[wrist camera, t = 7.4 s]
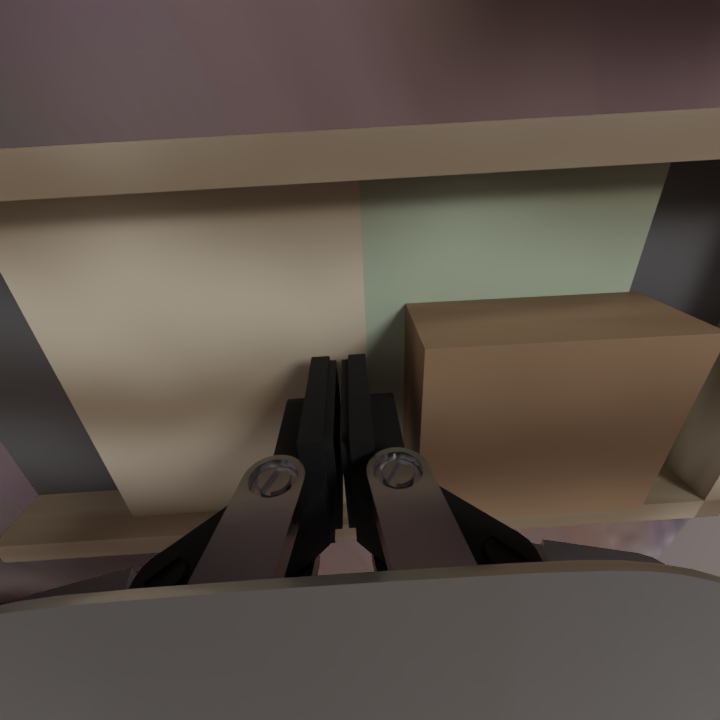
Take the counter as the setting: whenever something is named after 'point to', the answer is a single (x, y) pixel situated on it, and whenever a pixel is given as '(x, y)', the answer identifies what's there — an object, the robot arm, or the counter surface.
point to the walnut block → (551, 397)
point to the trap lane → (311, 294)
